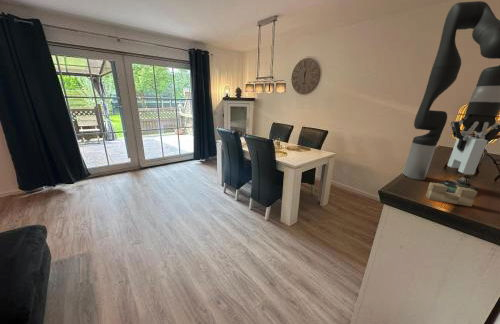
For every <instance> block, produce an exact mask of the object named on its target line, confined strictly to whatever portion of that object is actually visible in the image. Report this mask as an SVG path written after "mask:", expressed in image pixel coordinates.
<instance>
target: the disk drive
mask: <svg viewBox="0 0 500 324" xmlns="http://www.w3.org/2000/svg"><path fill="white" fill-rule="evenodd" d="M437 183H438V184H444V185H445V186H447V187H448V188H447V191H446V192H448V193H454V194H455V193H456V190H457V187H462V186H458V185H456V184H455V183H456V182H454V181H453V180H449V179H445V180H443V181H439V182H437ZM471 187H472V188H473V189H474V190H475V191H477V187H474V186H471ZM464 188H465V187H464Z"/></svg>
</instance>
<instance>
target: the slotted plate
mask: <svg viewBox="0 0 500 324" xmlns="http://www.w3.org/2000/svg"><path fill="white" fill-rule="evenodd" d="M466 141H467V143H466V145H465V148H464V150H463V151H459V150H458V148H457V145H458V142H459V139H458V138H456V141H455V143H454V146H453V150H452V151H451V154H450V156H449V160H448V162H447V165H446V166H448V167H449V168H452V169H453V168H454V169H458V170H457V171H458V172H459V173H461V174H466V175H475V173H476V169H477V167H478V166H479V162H480V160H481V158H482V156H483V154H484V151H485V149H486V146H487V144H488V142H489V141H488V140H484V139H479V138H475V137H474V136H471V135H470V136H469V137H468V139H467V140H466Z"/></svg>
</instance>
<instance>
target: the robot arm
mask: <svg viewBox="0 0 500 324" xmlns="http://www.w3.org/2000/svg"><path fill="white" fill-rule="evenodd" d="M469 29H470V30H471V29H472V33H471V37H472V39H473V40H474V42H475V43H476V44H478V45H479V50H480V55H481V56H482V57H484V58H485V59H492V60H494V59H500V19H499V18H497V17H496V16H495V14H494V12H493V10H492V9H491V7H490V5H489V4H488V3H487V2H485V1H481V0H480V1H464V2H463V1H461V2H457V3H454V4H453V5H452V6H451V7H450V9H449V10H448V13H447V14H446V17H445V20H444V23H443V29H442V33H441V38H440V42H439V46H438V50H437V53H436V56H435V58H434V62H433V64H432V68H431V71H430V74H429V77H428V80H427V85H426V88H425V91H424V94H423V98H422V100H421V103H420V106H419V108H418V110H417V113H416V115H415V118H414V123H413V126H414V128H415V129H416V130H421V131H423V130H424V131H429V132H427V133H425V134H422V135H418V136H415V137H413V139H412V141H411V145H410V147H409V152H408V156H407V158H406V162H405V165H404V169H403V172H402V175H403V174H404V175H405V176H404V175H403V176H404V177H406V176H407V177H406V178H409V179H412V180H413V179H414V180H419V181H422V180H423V181H424V180H425V179H426V178H427V177H426V176H427V174H428V171H429V168H430V166H431V163H432V160H433V156H434V153H435V150H436V147H437V144H438V142H439V141H440V139H441V136H442V134H443V131H444V129H445V126H446V124H447V121H448V113H447V112H446V111H445V110H432V109H431V107H432V105H433V104H434V102H435V101H436V100H437V98H438V97H440V96H441V94H443V93H444V92H445V91H447V90H448V89H449V88H450V87H451V86H452V85H453V84H454V83H455V82H456V80H457V78H458V75H459V72H460V70H461V69H460V68H462V67H461V65H462V59H461V55H460V53H459V50H458V48H457V45H456V36H457V30H460V31H461V30H469ZM499 113H500V64H499V65H495V66H490V67H486V68H484V69H482V71H481V72H480V75H479V78H478V80H477V82H476V86H475V88H474V89H473V91H472V94H471V97H470V99H469V102H468V104H467V107H466V110H465V113H464V117H462V118H461V120H457V121H451V123H450V126H451V131H452V135H453V138H456V139H457V138H458V139H459V142H458V145H457V148H458V150H459V151H463V150H464V148H465V145H466V143H467V141H466V140H467V139H468V137H469V136H470V137H471V135H472V134H473V132H474V135H475V138H479V139H484V140H488V141H487V142H490V141H492V140H493V139H494V138H495V137H496V136H497V135H498V134H499V133H500V124H499V123H498V122H497V120H496V118H497V117H498V115H499ZM462 125H463V128H462V130H461V127H462ZM488 129H490V130H489V131H488Z"/></svg>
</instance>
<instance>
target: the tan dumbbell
mask: <svg viewBox="0 0 500 324" xmlns="http://www.w3.org/2000/svg"><path fill="white" fill-rule="evenodd" d="M438 183H439V182H429V185H428V188H427V191H426V194H425V197H426V198H427V199H428V200H432V201H436V202H442V203H450V204H455V205H461V206H466V207H472V205H473V203H474V202H475V199H476V196H477V195H478V191H477V190H476V191H475V190H474V189H471V188H464V187H457V190H456V193H455V194H454V193H448V192H446V191H447V188H448V187H447V186H445V185H444V184H438Z"/></svg>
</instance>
